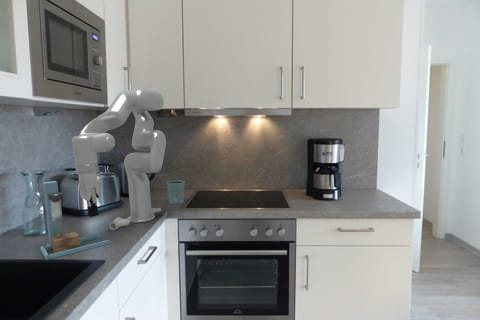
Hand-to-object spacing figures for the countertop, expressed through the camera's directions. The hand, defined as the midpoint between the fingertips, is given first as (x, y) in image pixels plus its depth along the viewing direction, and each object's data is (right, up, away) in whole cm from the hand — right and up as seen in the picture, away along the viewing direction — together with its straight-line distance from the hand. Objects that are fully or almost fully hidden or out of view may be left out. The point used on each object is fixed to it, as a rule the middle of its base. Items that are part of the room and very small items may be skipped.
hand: (93, 215), depth 121 cm
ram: (-9, 0, -8) cm, 12 cm away
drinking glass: (+20, -3, +60) cm, 63 cm away
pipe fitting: (+4, -9, +18) cm, 20 cm away
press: (-6, -11, -2) cm, 13 cm away
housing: (-7, -11, -6) cm, 15 cm away
